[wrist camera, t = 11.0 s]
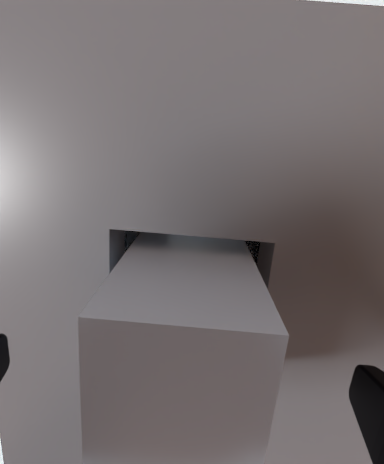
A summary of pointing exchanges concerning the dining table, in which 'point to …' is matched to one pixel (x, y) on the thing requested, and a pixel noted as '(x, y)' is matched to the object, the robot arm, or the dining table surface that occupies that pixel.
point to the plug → (180, 356)
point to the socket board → (192, 189)
